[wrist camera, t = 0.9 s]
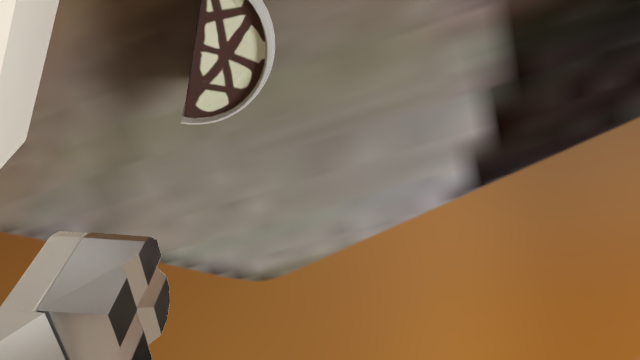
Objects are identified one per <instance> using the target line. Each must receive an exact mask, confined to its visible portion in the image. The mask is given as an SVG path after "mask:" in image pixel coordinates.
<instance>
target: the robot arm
mask: <svg viewBox="0 0 640 360" xmlns="http://www.w3.org/2000/svg"><path fill="white" fill-rule="evenodd" d="M160 258H161V252H160V249H159V246H158V242H157V240H156V239H154V238H152V237H143V236H130V235H116V234H103V233H79V232H67V231H59V232H57V233H55V234H53V235H52V236H51V237H50V238H49V239H48V241H47V242H46V243H45V245H44V246H43V248H42V249H41V251H40V252H39V253H38V255H37V256H36V257H35V259H34V260H33V262H32V263H31V265H30V266H29V267H28V269H27V270H26V271H25V273H24V274H23V276H22V277H21V279H20V280H19V282H18V283H17V284H16V286H15V287H14V288H13V290H12V291H11V293H10V294H9V295H8V297H7V298H6V300H5V301H4V302H3V304H2V305H1V307H0V360H152V357H151V354H150V350H149V347H148V345H149V344H150V343H151V342H153V341H154V340H155V339H156V338H158V337H159V336H160V335H161V334H162V331H163V329H164V326H165V323H166V321H167V316H168V310H169V304H170V293H169V284H168V280H167V276H166V275H165V274H163V273H162V272H161V271H160V270H159V269H158V268H157V265H158V263H159V260H160Z"/></svg>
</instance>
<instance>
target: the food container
mask: <svg viewBox="0 0 640 360" xmlns="http://www.w3.org/2000/svg"><path fill="white" fill-rule="evenodd" d="M274 54H275V34H274V29H273V24H272V21H271V18H270V15H269V13H268V10H267V8H266V6H265V4H264V3H263V1H262V0H201V4H200V11H199V18H198V25H197V28H196V39H195V45H194V49H193V59H192V66H191V71H190V77H189V84H188V89H187V97H186V102H185V106H184V110H183V114H182V118H181V124H191V125H194V124H208V123H213V122H217V121H220V120H223V119H226V118H228V117H230V116H232V115H234V114H236V113H238V112H239V111H240V110H242V109H243V108H244V107H246V106H247V105H248V104H249V103H250V102H251V101H252V100H253V99H254V98H255V97H256V96H257V94H258V93H259V92H260V90H261V89H262V87H263V86H264V84H265V83H266V80H267V78H268V76H269V74H270V72H271V68H272V65H273V61H274Z"/></svg>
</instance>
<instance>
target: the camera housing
mask: <svg viewBox="0 0 640 360" xmlns="http://www.w3.org/2000/svg"><path fill="white" fill-rule="evenodd" d="M58 4H59V0H0V169H1V168H2V166H3V165H4V164H5V163H6V162H7V161H8V160H9V158H10V157H11V156H12V155H13V154H14V153H15V152H16V151H17V149H18V148H19V147H20V146H21V145H22V144H23V143H24V142H25V140H26V137H27V133H28V129H29V125H30V121H31V116H32V112H33V108H34V104H35V100H36V96H37V91H38V87H39V83H40V79H41V75H42V70H43V66H44V62H45V58H46V54H47V50H48V45H49V41H50V37H51V33H52V29H53V25H54V20H55V16H56V12H57V8H58Z"/></svg>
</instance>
